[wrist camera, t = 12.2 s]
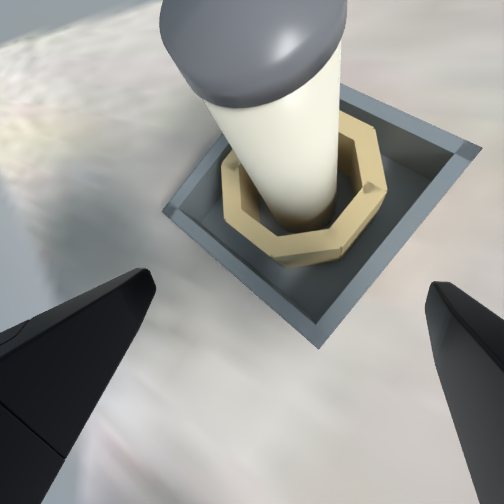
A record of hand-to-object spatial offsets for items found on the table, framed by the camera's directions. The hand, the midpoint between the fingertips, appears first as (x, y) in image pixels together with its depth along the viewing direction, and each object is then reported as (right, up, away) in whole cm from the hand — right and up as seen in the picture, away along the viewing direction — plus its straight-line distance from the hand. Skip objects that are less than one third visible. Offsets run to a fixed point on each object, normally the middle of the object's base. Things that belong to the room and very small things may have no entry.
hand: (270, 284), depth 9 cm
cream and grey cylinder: (+3, +4, +9) cm, 10 cm away
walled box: (+3, +4, +9) cm, 10 cm away
